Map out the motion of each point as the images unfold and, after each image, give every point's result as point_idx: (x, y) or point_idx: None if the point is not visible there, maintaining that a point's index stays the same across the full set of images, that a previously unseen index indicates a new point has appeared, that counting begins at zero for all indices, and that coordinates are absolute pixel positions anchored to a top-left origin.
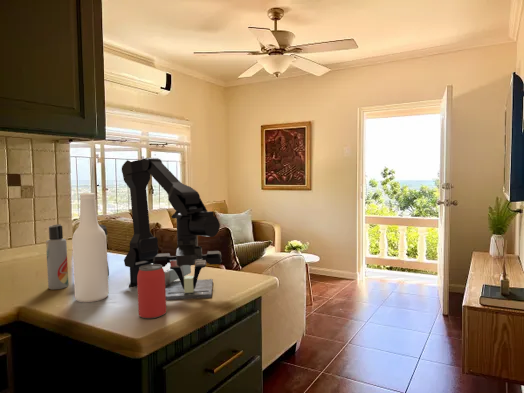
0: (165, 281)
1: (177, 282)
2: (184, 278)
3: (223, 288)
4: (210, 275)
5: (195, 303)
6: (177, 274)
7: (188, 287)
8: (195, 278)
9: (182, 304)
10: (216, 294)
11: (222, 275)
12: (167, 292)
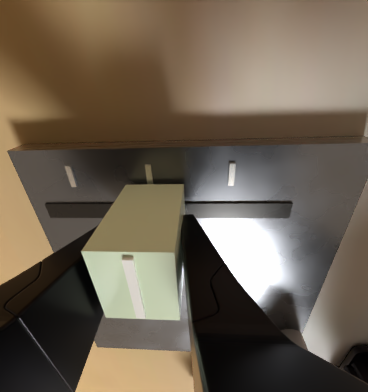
0: (300, 343)
1: None
2: (171, 263)
3: (27, 268)
4: (131, 381)
5: (83, 24)
6: (254, 304)
7: (149, 202)
8: (64, 257)
9: (178, 11)
10: (20, 195)
11: (91, 375)
12: (292, 225)
